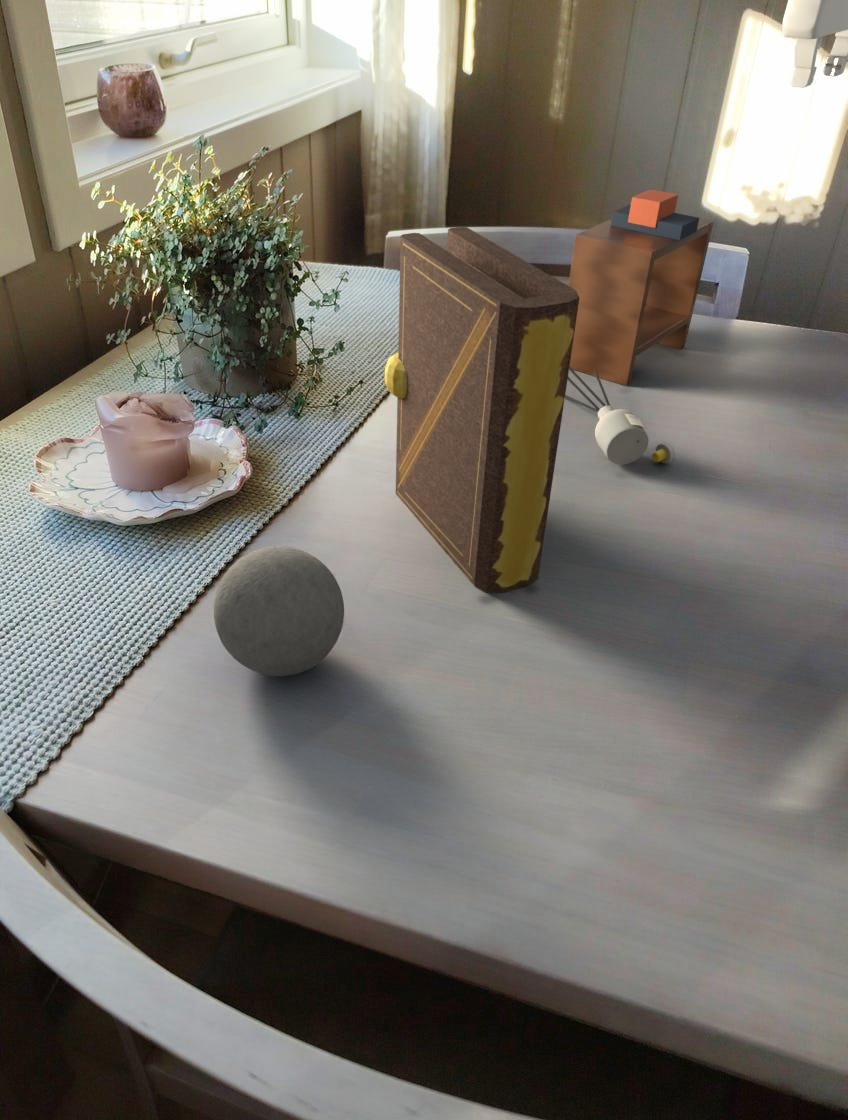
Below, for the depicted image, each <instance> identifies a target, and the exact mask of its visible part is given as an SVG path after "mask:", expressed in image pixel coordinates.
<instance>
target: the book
mask: <svg viewBox="0 0 848 1120" xmlns="http://www.w3.org/2000/svg"><path fill="white" fill-rule="evenodd" d="M399 243H400V244H399V245H400V246H399V248H400V249H399V253H400V254H399V293H398V294H399V297H398V298H399V301H398V303H399V304H398V311H399V312H398V347H397V348H398V349H397V350H398V351H397V352H395V353H394V354H393V355H391V356H390V357H389V358H388V359H387V361H386V365H385V368H384V383H385V387H386V389H387V391H388V392H389V393H390V394H391V395H393V396H394V397H396V398H397V399H396V401H397V402H396V403H397V404H396V448H395V449H396V451H395V452H396V454H395V456H396V459H395V495H396V496H397V497H398V499H400V500H401V502H402V504H404V505H405V506H406V508H407V509H408V510H409V511H410V513H412V514H413V516H414V517H415V518H416V519H417V520H418V522H419V523H420V524H421V525H422V526H423V528H424V529H425V530H426V532H428V533H429V535H430V536H431V537H432V538H433V539H434V540H435V542H436V543H437V544H438V545H439V547H440V548H441V549H442V550H443V551H444V553H446V555H447V556H448V557H449V558H450V559H451V561H452V562H453V563H454V565H456V566H457V568H458V569H459V570H460V571H461V572H462V573H463V574H464V576H465V577H466V578H467V579H468V580H469V582H470V583H471V584H472V585H473V587H475V588H478V589H480V590H481V591H483V592H485V593H505V592H509V591H512V590H516V589H521V588H524V587H528V586H530V585H531V584H532V583H534V582H535V581H537V580H538V579H539V575H540V569H541V560H542V553H543V547H544V541H545V534H546V527H547V521H548V514H549V507H550V501H551V494H552V488H553V487H552V486H553V482H554V481H553V480H554V473H555V466H556V460H557V459H556V458H557V452H558V446H559V439H560V432H561V427H562V426H561V425H562V420H563V419H562V418H563V412H564V407H565V406H564V405H565V400H566V398H565V395H566V392H567V385H568V380H567V379H568V377H569V371H570V370H569V366H570V359H571V352H572V345H573V339H574V332H575V325H576V318H577V312H578V305H579V298H580V297H579V295H578V293H577V291H576V290H575V289H573V288H571V287H569V284H566V283H564V282H563V281H561V280H559V279H557V278H555V277H554V276H551V275H550V274H548V273H547V272H545V271H544V270H542V269H541V268H539V267H537V266H535V265H533V264H531V263H530V262H528V261H526V260H524V259H523V258H521V257H520V256H517V255H516V254H514V253H513V252H510V251H509V250H508V249H505V248H504V247H502V246H501V245H499V244H497V243H496V242H493V241H492V240H490V239H488V238H487V237H484V235H481V234H480V233H478V232H476V231H474V230H472V229H471V228H469V227H467V226H457V227H450V228H448V229H447V244H446V249H445V248H443V247H441V246H440V245H439V244H437V243H435V242H434V241H433V240H431V239H429V238H428V237H426V236H424V234H421V233H420V232H409V233H403V234H401V235H400V242H399Z"/></svg>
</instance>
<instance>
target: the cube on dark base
mask: <svg viewBox="0 0 848 1120" xmlns="http://www.w3.org/2000/svg"><path fill="white" fill-rule="evenodd" d="M678 198H679V194H678V193H672V192H668V191H661V190H656V189H648V190H645V191H644V192H641V193H639V194H636V195H634V196H632V197H631V202H630V204H628V205H625V206H623V207H621V208H619V209H617V210H614V211H613V212H612V216H611V219H612V221H611V226H614V227H619V228H623V229H628V230H633V231H637V232H642V233H647V234H652V235H656V236H661V237H666V238H670V239H675V240H681V239H683V238H685V237H687V236H689V235H691V234H693V233H695V232H696V231H697V227H698V222H699V218H700V217H698V216H692V215H688V214H683V213H678V212H676V207H677V202H678Z"/></svg>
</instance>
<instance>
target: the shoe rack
mask: <svg viewBox="0 0 848 1120" xmlns="http://www.w3.org/2000/svg"><path fill="white" fill-rule="evenodd" d="M698 218H699V222H698V227H697V231H696V232H695V233H693V234H691V235H689V236H687V237H685V238H683V239H681V240H675V239H670V238H666V237H661V236H656V235H652V234H647V233H642V232H637V231H633V230H628V229H623V228H619V227H614V226H611V221H612V218H611V219H608V220H606V221H604V222H602V223H599V224H597V225H595V226H592V227H590V228H588V229H586V230H583V231H581V232H579V233H576V234H575V235H574V236H575V237H574V243H573V249H572V250H573V251H572V258H571V265H570V273H569V280H568V286H569V287H571V288H573V289H575V290H576V291H577V293H578V295H579V297H580V298H579V305H578V312H577V318H576V325H575V332H574V339H573V345H572V352H571V359H570V367H571V369H572V370H573V371H575V372H576V371H577V372H580V373H584V374H586V375H589V376H593V377H596V375H595V372H594V370H596V371H597V374H598V376H599V379H603V380H605V381H608V382H612V383H615V384H618V385H622V386H624V387H628V386H629V385H631V383H632V378H633V372H634V367H635V362H636V357H637V356H639V355H641V354H642V353H644V352H645V351H646V350H648V349H650V348H651V347H653V346H654V345H657V344H660V345H664V346H667V347H671V348H675V349H678V350H683V349H684V348H686V343H687V340H688V336H689V331H690V326H691V322H692V317H693V315H694V314H693V313H694V310H695V305H696V301H697V297H698V292H699V287H700V284H701V279H702V275H703V270H704V266H705V262H706V257H707V254H708V249H709V244H710V239H711V236H712V233H713V232H712V231H713V226H714V224H715V221H714V219H713V220H712V219H708V218H702V217H698Z"/></svg>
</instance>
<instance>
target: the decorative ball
mask: <svg viewBox="0 0 848 1120" xmlns="http://www.w3.org/2000/svg"><path fill="white" fill-rule="evenodd" d="M344 602H345V601H344V598H343V593H342V590H341V587H340V585H339V583H338V580H337V579H336V577H335V575H334V574H333V573H332V571H331V570H330V569H329V568H328V566H327V565H325V564H324V563H323V561H321V560H320V559H319V558H317V557H316V556H314V555H313V554H311V553H309V552H308V551H305V550H303V549H299V548H296V547H293V546H288V545H287V546H286V545H270V546H266V547H261V548H258V549H256V550H253V551H250V552H248V553H247V554H245V555H243V556H242V557H240V558H239V559H238V560H236V561H234V563H233V564H232V565H231V566H230V567H229V569H228V570H227V571H226V573H225V574H224V575H223V577H222V578H221V580H220V582H219V585H218V587H217V589H216V592H215V595H214V600H213V620H214V621H213V622H214V627H215V629H216V633H217V637H218V638H219V640H220V642H221V644H222V646H223V647H224V649H225V650H226V651H227V652H228V654H229V655H230V656H231V657H232V658H233V659H234V660H235V661H236V662H237V663H239V664H241V665H242V666H243V667H244V668H246V669H249V670H250V671H253V672H256V673H259V674H262V675H265V676H273V677H285V676H287V677H288V676H293V675H297V674H300V673H303V672H305V671H308V670H310V669H311V668H313V667H314V666H316V665H318V664H319V663H320V662H322V661H323V660H324V659H325V658H326V657H327V656H328V654H329V653H331V651H332V650H333V648H334V647H335V645H336V643H337V642H338V640H339V637H340V635H341V632H342V629H343V626H344V619H345V603H344Z"/></svg>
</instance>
